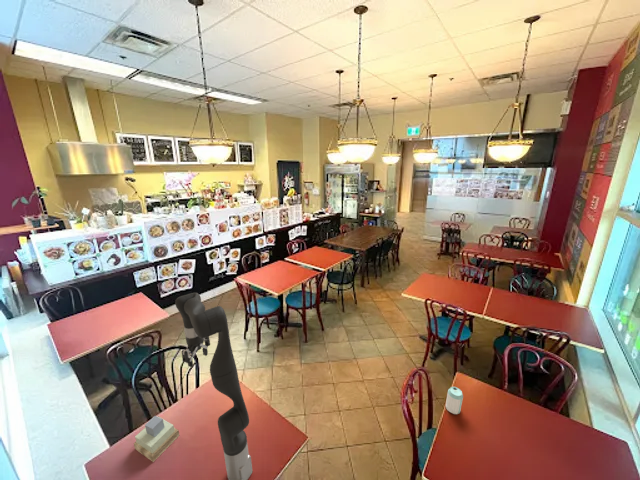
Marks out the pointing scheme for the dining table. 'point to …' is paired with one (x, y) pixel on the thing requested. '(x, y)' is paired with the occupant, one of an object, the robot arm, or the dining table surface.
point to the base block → (160, 449)
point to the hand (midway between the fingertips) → (198, 360)
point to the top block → (155, 442)
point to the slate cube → (154, 426)
